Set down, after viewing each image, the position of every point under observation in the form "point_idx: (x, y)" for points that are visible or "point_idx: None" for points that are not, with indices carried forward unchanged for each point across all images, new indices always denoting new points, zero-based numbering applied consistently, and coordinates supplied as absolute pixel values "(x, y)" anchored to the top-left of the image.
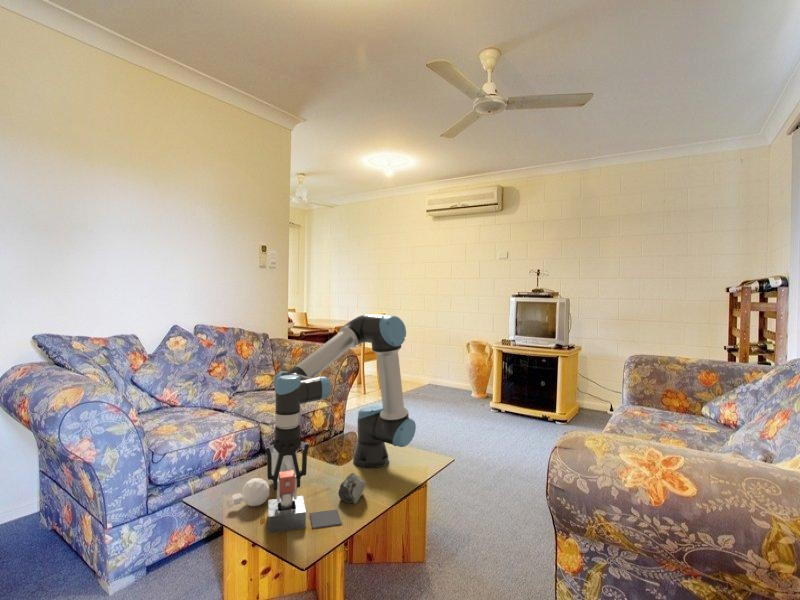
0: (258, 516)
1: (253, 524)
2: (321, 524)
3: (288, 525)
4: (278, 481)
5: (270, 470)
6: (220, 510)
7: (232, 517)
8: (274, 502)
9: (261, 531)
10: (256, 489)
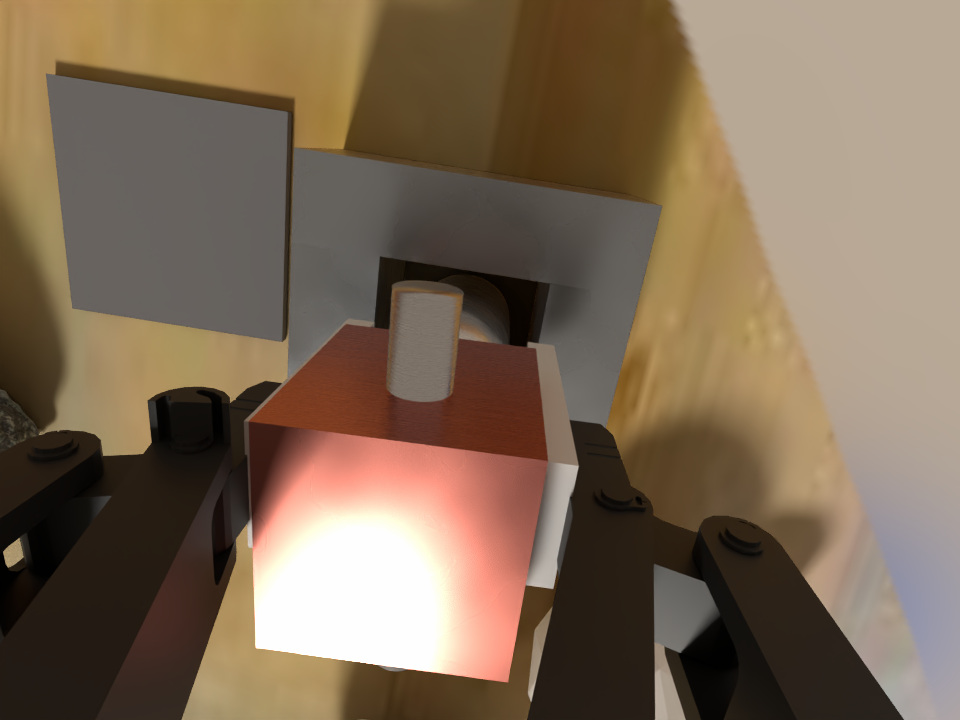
0: (636, 457)
1: (696, 369)
2: (212, 128)
3: (474, 171)
4: (562, 460)
5: (798, 670)
6: (842, 623)
7: (799, 514)
8: None
9: (669, 249)
10: (664, 666)
